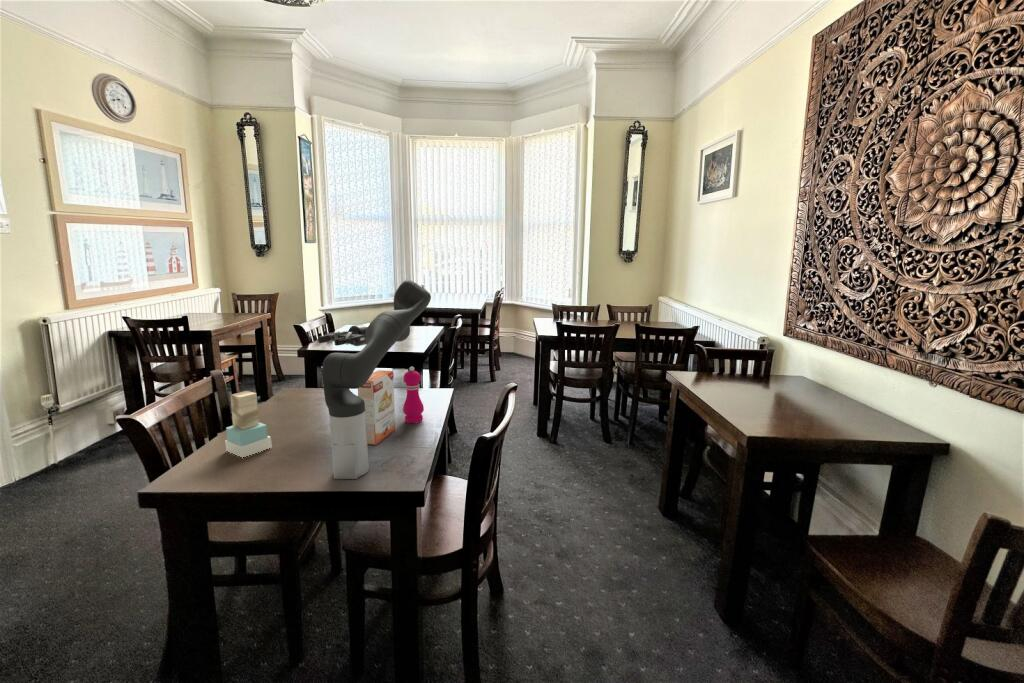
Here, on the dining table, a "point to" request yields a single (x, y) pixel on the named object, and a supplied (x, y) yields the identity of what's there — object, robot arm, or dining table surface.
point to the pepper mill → (412, 397)
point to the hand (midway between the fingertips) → (326, 341)
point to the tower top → (246, 434)
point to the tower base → (248, 447)
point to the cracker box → (379, 405)
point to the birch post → (244, 410)
